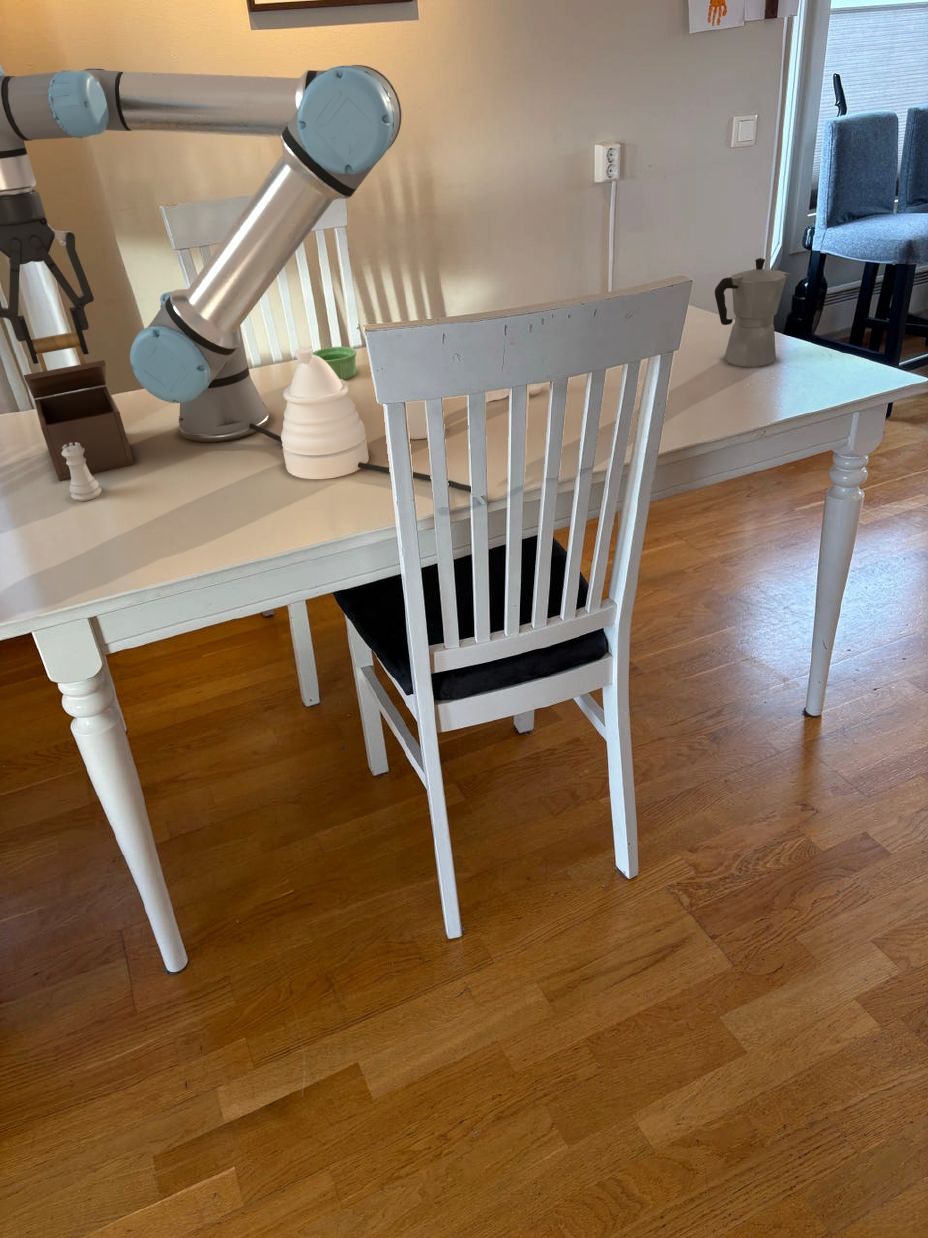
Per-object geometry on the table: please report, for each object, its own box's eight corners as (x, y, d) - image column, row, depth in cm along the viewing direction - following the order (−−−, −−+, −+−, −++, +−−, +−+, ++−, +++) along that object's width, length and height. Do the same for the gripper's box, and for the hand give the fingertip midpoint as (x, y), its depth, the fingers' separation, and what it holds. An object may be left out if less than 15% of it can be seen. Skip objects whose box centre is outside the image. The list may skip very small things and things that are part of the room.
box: (134, 463, 145) (119, 411, 140) (58, 480, 141) (40, 427, 136) (120, 434, 157) (106, 384, 152) (50, 449, 153) (33, 399, 148)
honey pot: (349, 481, 133) (331, 361, 123) (271, 476, 137) (248, 358, 127) (380, 448, 143) (367, 334, 134) (307, 444, 147) (289, 332, 137)
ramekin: (356, 381, 173) (353, 358, 170) (309, 384, 173) (306, 361, 171) (361, 366, 180) (358, 345, 178) (316, 369, 181) (313, 347, 178)
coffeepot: (763, 347, 173) (775, 248, 164) (795, 360, 166) (809, 257, 156) (694, 361, 169) (702, 260, 160) (724, 374, 162) (733, 269, 152)
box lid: (105, 365, 137) (93, 325, 136) (25, 380, 133) (11, 339, 132) (106, 384, 152) (95, 349, 151) (33, 398, 148) (21, 362, 147)
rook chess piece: (108, 492, 136) (93, 442, 132) (84, 504, 133) (67, 453, 128) (89, 487, 138) (74, 437, 134) (65, 498, 135) (48, 448, 131)
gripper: (78, 180, 131) (122, 339, 144) (-68, 198, 124) (-9, 363, 137) (85, 184, 125) (129, 350, 138) (-68, 203, 119) (-7, 375, 131)
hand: (60, 356), depth 137 cm, fingers closed on box lid, 7 cm apart
